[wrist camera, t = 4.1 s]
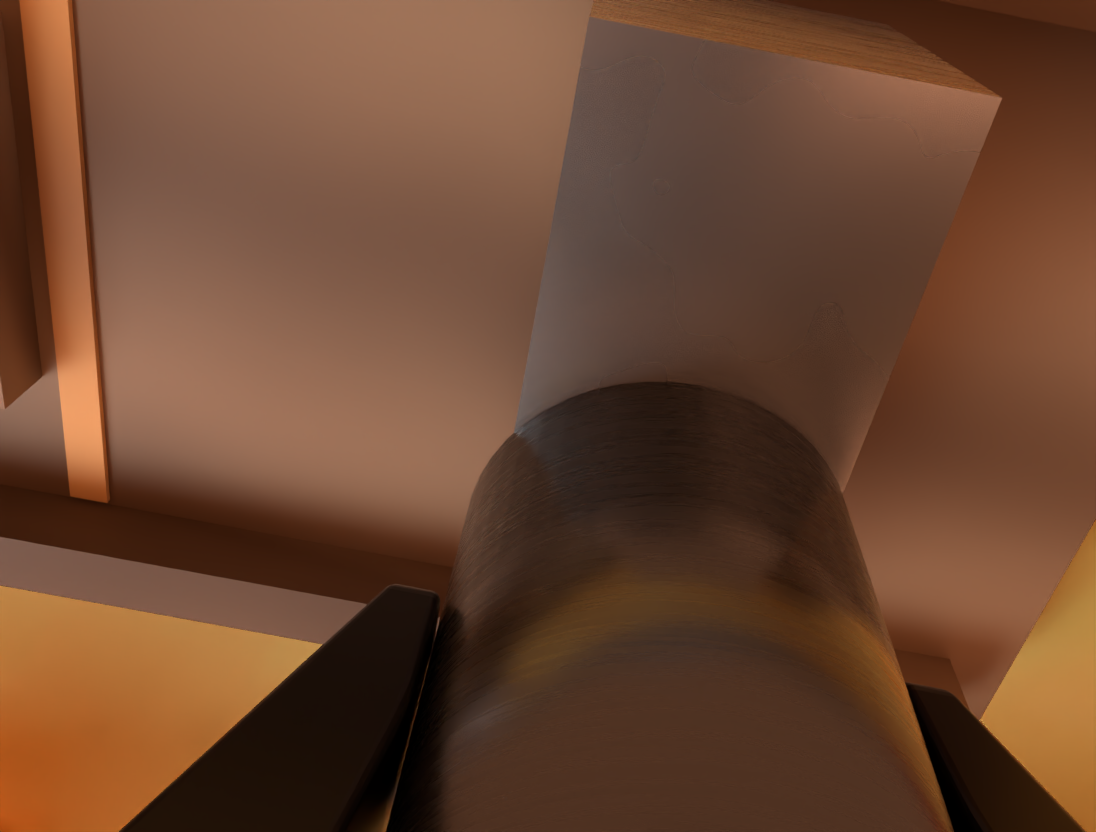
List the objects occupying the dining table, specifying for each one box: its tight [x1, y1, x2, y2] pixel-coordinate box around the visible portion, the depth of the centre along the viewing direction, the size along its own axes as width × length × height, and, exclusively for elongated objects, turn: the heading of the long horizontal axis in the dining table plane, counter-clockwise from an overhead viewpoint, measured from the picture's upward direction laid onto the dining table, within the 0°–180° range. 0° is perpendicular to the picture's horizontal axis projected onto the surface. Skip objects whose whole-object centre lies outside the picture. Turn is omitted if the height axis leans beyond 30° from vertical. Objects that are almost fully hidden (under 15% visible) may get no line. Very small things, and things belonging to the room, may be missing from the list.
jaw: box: [386, 0, 1002, 832], centre depth 8 cm, size 9×4×9 cm, turn 171°
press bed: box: [0, 0, 1096, 720], centre depth 12 cm, size 12×24×6 cm, turn 81°
